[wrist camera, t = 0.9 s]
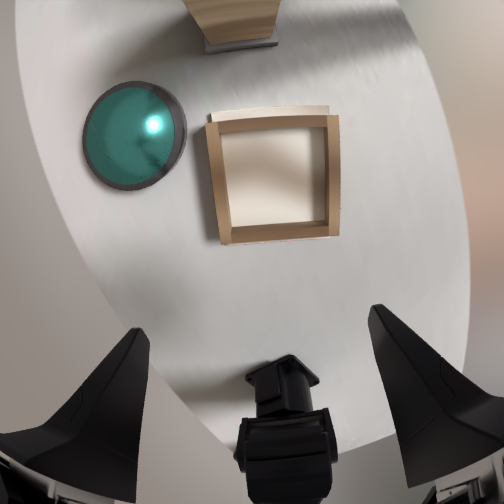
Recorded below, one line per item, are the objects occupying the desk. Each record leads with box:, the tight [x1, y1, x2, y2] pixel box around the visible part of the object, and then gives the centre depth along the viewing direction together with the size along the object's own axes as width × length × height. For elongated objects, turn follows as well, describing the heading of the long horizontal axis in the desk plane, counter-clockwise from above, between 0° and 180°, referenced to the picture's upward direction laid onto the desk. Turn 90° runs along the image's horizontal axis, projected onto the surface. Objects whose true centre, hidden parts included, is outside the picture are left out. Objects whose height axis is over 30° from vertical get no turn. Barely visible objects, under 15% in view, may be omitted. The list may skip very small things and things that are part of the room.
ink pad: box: [83, 81, 187, 191], centre depth 17 cm, size 8×8×2 cm
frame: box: [205, 106, 340, 246], centre depth 18 cm, size 10×9×2 cm
